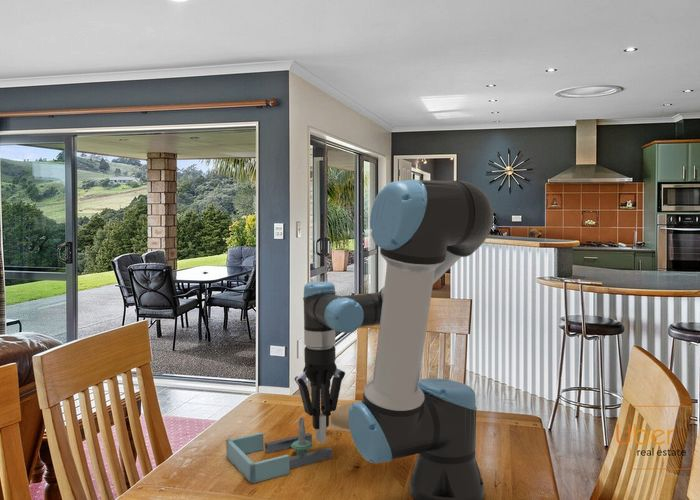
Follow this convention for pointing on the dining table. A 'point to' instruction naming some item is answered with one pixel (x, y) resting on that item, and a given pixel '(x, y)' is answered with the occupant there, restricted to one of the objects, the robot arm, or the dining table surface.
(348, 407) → the mask
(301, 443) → the screw
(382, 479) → the dining table surface
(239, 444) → the bracket
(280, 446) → the slot
